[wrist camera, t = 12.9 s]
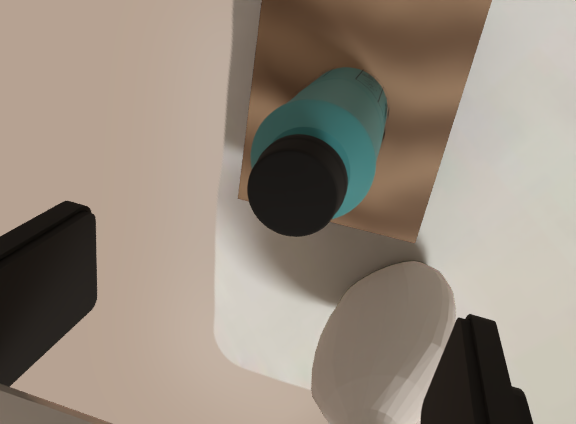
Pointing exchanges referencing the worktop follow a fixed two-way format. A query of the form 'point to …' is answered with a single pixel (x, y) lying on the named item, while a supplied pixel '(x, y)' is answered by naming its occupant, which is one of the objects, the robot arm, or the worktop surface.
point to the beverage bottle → (318, 152)
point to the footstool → (389, 73)
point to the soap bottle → (383, 346)
